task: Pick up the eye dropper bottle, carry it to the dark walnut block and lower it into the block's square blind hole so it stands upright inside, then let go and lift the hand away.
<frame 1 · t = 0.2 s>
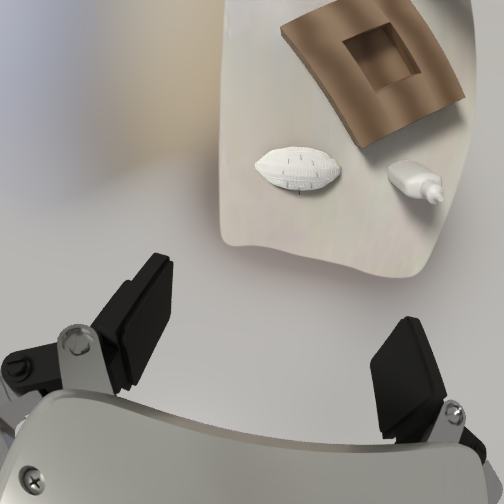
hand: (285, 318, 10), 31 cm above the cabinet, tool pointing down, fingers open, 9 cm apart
eye dropper bottle: (403, 170, 35), on the cabinet
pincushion: (298, 166, 38), on the cabinet
walnut socket block: (374, 60, 28), on the cabinet
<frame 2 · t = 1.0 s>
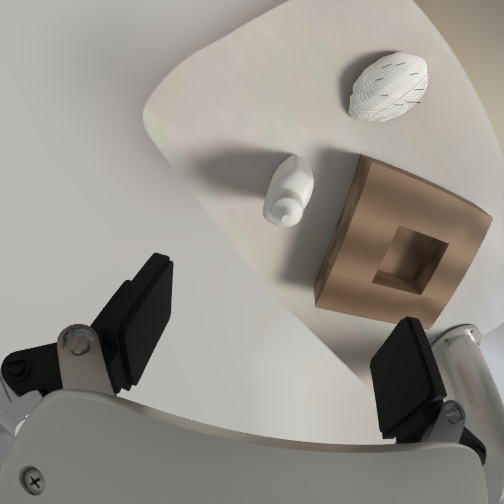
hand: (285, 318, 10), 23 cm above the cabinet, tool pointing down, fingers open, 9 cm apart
eye dropper bottle: (289, 177, 30), on the cabinet
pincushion: (387, 86, 23), on the cabinet
walnut socket block: (400, 244, 32), on the cabinet
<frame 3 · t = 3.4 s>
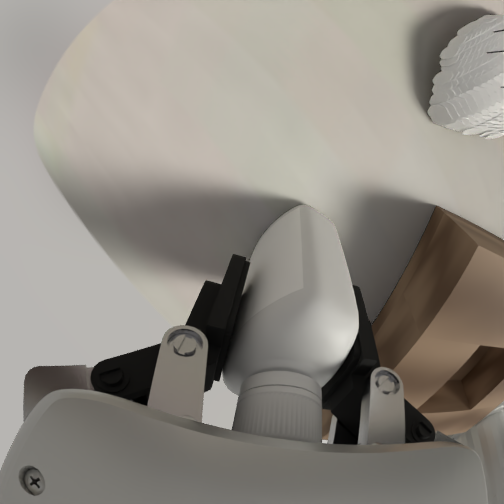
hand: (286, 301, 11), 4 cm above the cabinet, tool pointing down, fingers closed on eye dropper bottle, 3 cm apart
eye dropper bottle: (289, 248, 15), on the cabinet, touching gripper
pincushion: (487, 71, 8), on the cabinet
walnut socket block: (457, 342, 17), on the cabinet
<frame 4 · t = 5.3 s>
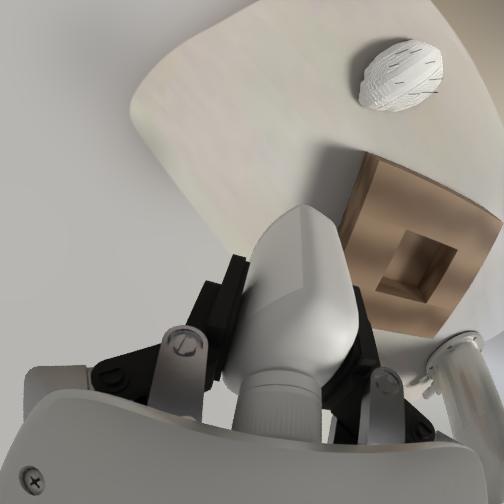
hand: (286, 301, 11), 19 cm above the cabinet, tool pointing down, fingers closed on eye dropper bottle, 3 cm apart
eye dropper bottle: (289, 247, 15), point 14 cm above the cabinet, touching gripper
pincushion: (400, 75, 20), on the cabinet
walnut socket block: (405, 249, 30), on the cabinet
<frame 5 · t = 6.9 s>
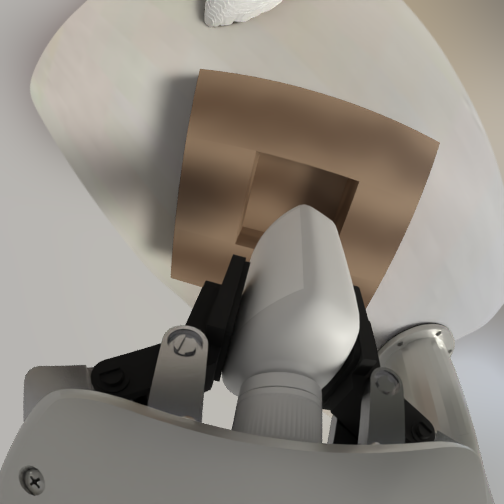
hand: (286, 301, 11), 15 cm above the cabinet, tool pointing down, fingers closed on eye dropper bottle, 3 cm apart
eye dropper bottle: (289, 248, 15), point 11 cm above the cabinet, touching gripper
walnut socket block: (294, 195, 24), on the cabinet
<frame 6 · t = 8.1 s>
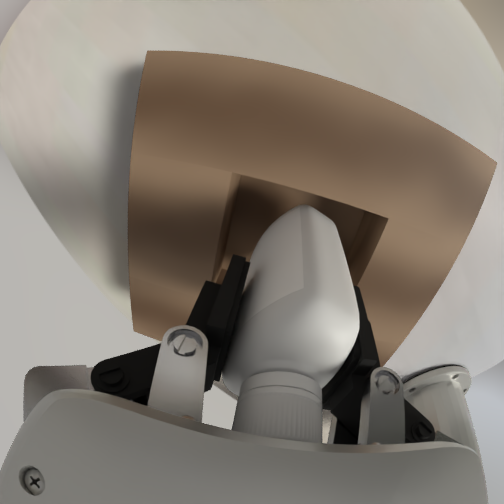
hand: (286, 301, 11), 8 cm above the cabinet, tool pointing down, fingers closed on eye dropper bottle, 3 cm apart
eye dropper bottle: (289, 247, 15), point 3 cm above the cabinet, touching gripper
walnut socket block: (292, 227, 18), on the cabinet
when the fingers open (6 cm above the cabinet, at t = 8.7 s): eye dropper bottle stays where it is, resting on walnut socket block.
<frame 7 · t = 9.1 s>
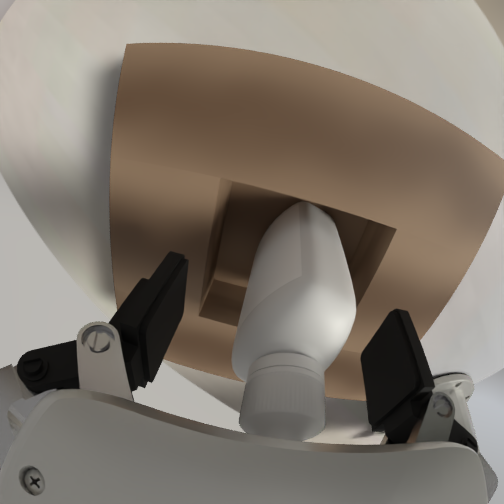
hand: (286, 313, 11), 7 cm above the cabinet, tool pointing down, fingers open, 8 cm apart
eye dropper bottle: (291, 243, 16), point 1 cm above the cabinet, touching walnut socket block
walnut socket block: (289, 235, 16), on the cabinet
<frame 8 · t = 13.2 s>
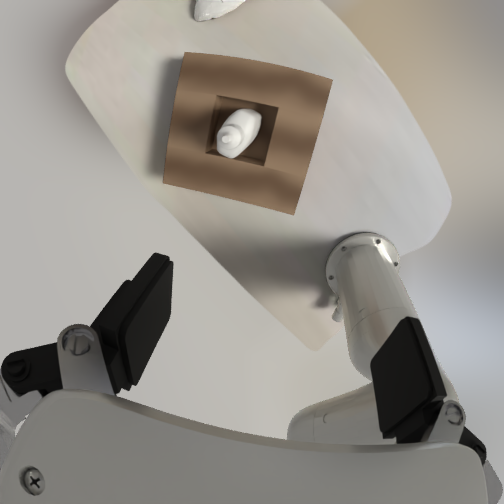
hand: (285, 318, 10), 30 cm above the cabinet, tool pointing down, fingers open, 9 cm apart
eye dropper bottle: (246, 128, 34), point 1 cm above the cabinet, touching walnut socket block
walnut socket block: (246, 127, 35), on the cabinet
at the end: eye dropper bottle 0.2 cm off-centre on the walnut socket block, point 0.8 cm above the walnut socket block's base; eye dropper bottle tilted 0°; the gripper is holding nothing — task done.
